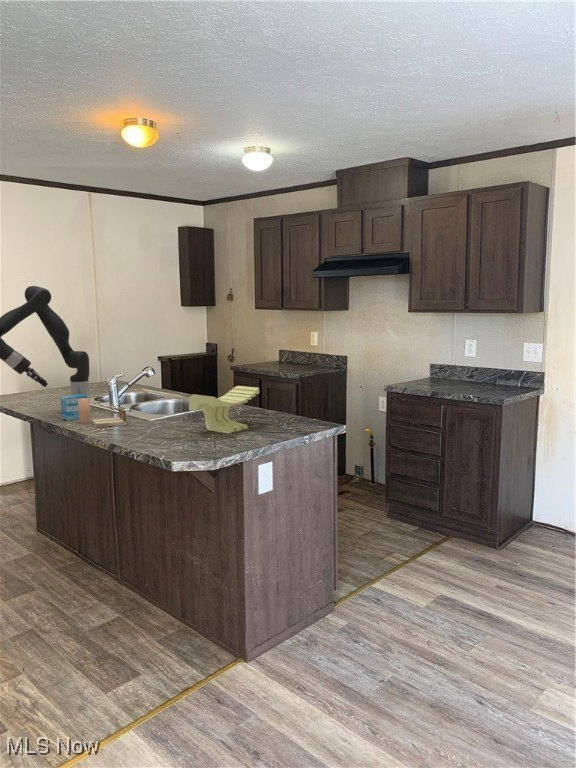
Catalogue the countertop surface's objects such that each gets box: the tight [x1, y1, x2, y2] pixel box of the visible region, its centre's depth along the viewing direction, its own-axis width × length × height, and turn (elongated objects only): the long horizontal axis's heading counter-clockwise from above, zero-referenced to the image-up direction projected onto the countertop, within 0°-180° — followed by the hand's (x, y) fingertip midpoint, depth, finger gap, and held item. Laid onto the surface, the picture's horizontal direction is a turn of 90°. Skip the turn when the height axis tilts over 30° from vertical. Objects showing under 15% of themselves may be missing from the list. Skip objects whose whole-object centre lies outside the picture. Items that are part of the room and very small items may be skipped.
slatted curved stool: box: [188, 385, 260, 434], centre depth 271 cm, size 30×16×18 cm, turn 143°
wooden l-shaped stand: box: [91, 406, 127, 429], centre depth 285 cm, size 12×14×7 cm
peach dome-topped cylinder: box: [78, 398, 92, 425], centre depth 289 cm, size 5×5×12 cm
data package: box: [60, 394, 87, 422], centre depth 299 cm, size 12×4×12 cm, turn 133°
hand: (45, 384), depth 281 cm, fingers open, 8 cm apart
